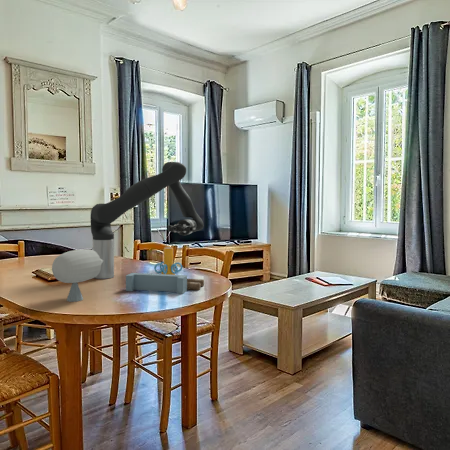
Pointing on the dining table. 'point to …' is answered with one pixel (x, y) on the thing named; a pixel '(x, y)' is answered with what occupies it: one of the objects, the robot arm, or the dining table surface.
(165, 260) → the yellow block with rings
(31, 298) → the dining table surface
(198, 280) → the roller
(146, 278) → the stop rail
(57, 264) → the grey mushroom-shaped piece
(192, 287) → the roller
